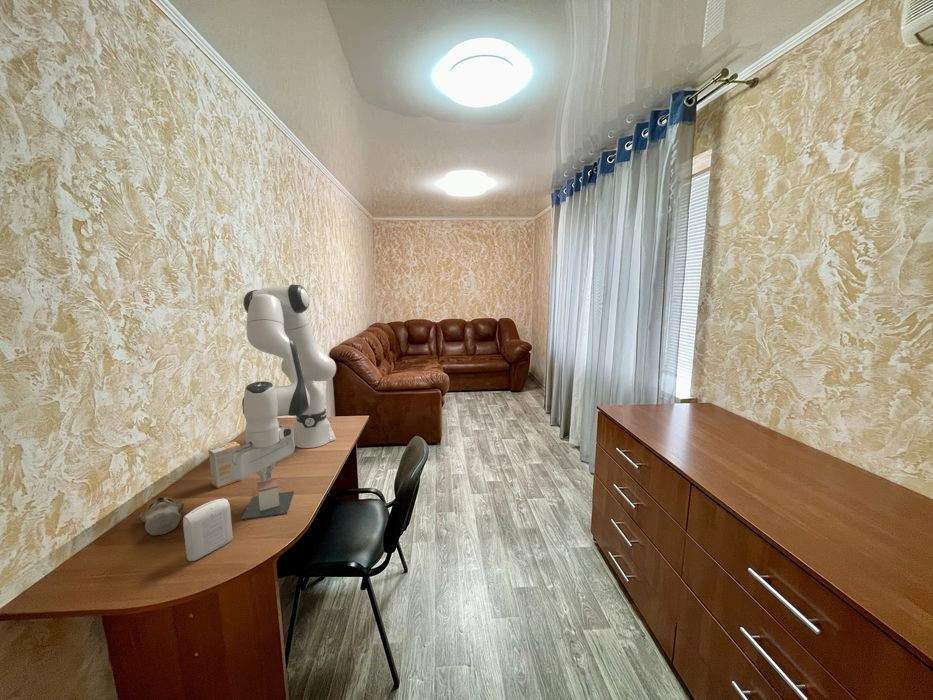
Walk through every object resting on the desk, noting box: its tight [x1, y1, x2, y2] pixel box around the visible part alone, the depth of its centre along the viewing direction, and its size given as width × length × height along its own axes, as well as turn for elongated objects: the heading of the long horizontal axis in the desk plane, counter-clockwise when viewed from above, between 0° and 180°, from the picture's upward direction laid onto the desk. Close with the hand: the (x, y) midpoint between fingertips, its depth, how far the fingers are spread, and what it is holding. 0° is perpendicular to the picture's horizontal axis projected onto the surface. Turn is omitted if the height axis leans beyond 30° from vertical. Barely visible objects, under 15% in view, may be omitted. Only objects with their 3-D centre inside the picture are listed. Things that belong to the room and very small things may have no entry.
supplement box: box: [208, 441, 241, 489], centre depth 125 cm, size 8×5×13 cm, turn 145°
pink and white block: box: [256, 478, 280, 511], centre depth 112 cm, size 5×5×7 cm
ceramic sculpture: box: [136, 497, 185, 536], centre depth 102 cm, size 11×9×15 cm
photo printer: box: [182, 498, 234, 562], centre depth 93 cm, size 10×4×12 cm, turn 152°
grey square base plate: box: [241, 490, 295, 521], centre depth 112 cm, size 12×12×6 cm
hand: (266, 479), depth 111 cm, fingers closed
